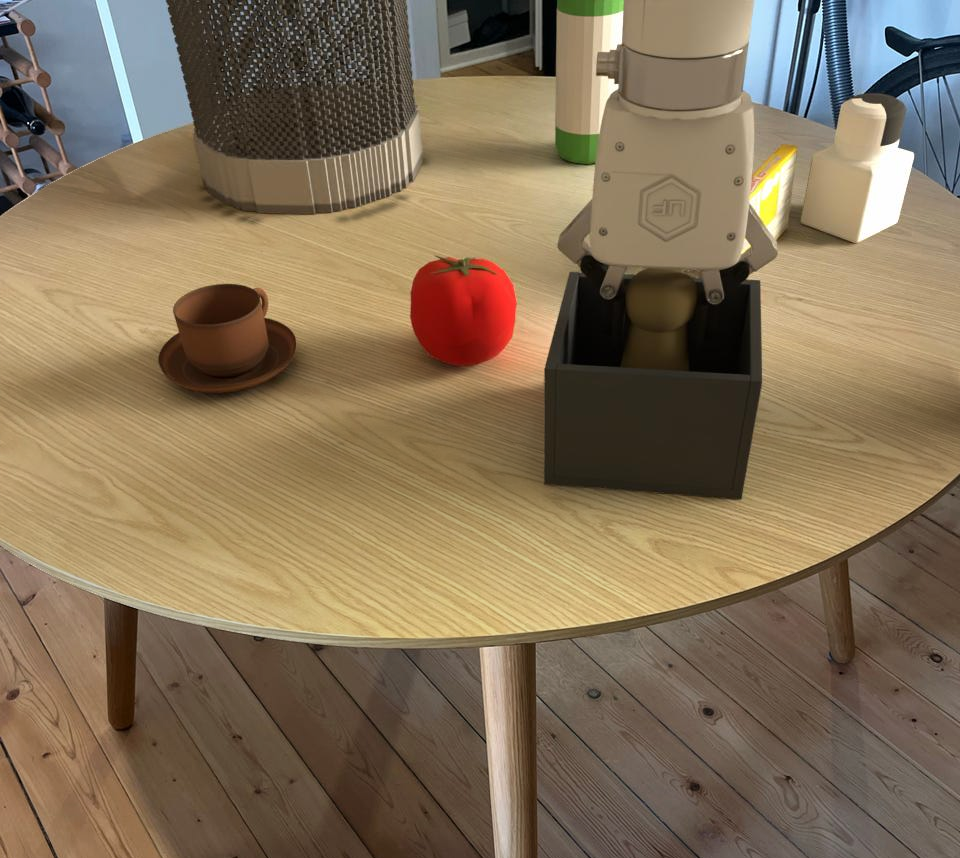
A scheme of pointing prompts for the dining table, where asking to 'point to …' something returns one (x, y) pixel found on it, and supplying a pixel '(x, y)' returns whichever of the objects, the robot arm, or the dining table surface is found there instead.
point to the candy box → (774, 190)
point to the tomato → (462, 310)
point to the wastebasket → (299, 102)
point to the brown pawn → (659, 319)
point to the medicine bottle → (860, 171)
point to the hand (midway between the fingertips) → (657, 341)
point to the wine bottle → (583, 73)
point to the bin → (651, 402)
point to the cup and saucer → (225, 340)
